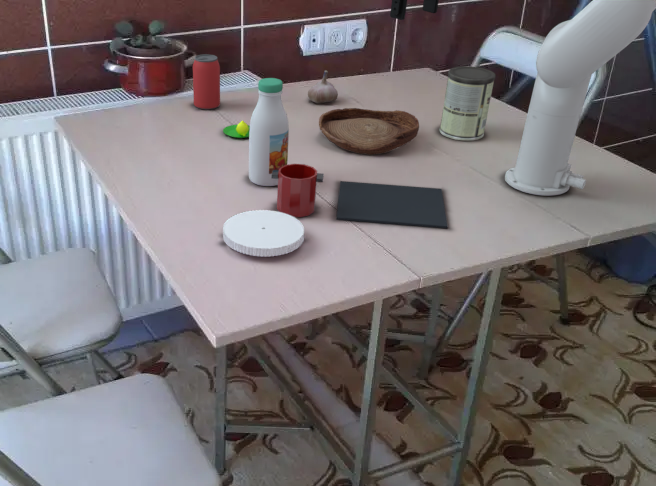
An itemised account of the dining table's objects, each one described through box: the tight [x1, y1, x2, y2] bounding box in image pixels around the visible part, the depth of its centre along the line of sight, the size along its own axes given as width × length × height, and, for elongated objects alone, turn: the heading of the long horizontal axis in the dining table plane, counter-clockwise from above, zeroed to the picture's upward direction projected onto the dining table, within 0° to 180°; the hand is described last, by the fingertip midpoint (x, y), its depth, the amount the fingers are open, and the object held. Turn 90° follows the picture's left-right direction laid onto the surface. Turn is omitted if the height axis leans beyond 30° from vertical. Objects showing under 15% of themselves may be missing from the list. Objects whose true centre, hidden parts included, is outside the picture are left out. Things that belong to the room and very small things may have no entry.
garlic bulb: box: [307, 69, 339, 104], centre depth 189 cm, size 8×7×8 cm
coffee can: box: [438, 65, 497, 142], centre depth 171 cm, size 10×10×14 cm
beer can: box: [192, 53, 221, 111], centre depth 183 cm, size 7×7×12 cm
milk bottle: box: [248, 77, 290, 187], centre depth 145 cm, size 8×8×20 cm
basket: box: [318, 107, 420, 156], centre depth 169 cm, size 22×20×5 cm
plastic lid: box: [222, 209, 305, 258], centre depth 129 cm, size 14×14×2 cm
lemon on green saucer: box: [222, 120, 250, 139], centre depth 171 cm, size 8×8×3 cm
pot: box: [271, 163, 325, 218], centre depth 138 cm, size 9×7×8 cm
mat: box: [336, 180, 448, 229], centre depth 142 cm, size 20×16×1 cm
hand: (413, 15), depth 146 cm, fingers open, 9 cm apart
